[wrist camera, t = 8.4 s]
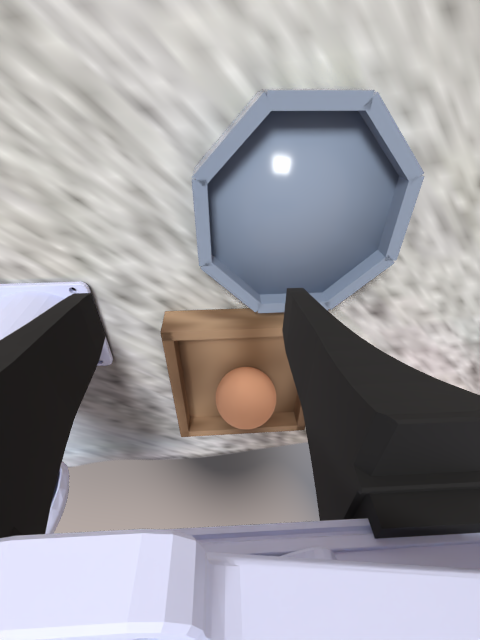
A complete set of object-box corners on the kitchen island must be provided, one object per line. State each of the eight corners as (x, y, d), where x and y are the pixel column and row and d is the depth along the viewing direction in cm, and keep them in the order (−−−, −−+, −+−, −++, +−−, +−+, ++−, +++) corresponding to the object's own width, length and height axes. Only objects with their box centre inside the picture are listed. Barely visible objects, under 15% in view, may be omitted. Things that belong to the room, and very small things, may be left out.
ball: (215, 394, 29) (217, 444, 25) (214, 355, 26) (215, 404, 22) (268, 391, 30) (278, 440, 26) (273, 352, 26) (285, 400, 23)
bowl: (204, 298, 24) (203, 315, 22) (187, 89, 16) (184, 90, 14) (368, 292, 24) (380, 308, 23) (428, 89, 17) (453, 90, 15)
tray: (183, 414, 32) (181, 437, 30) (165, 311, 24) (160, 332, 22) (298, 408, 33) (304, 429, 31) (317, 305, 25) (326, 326, 23)
